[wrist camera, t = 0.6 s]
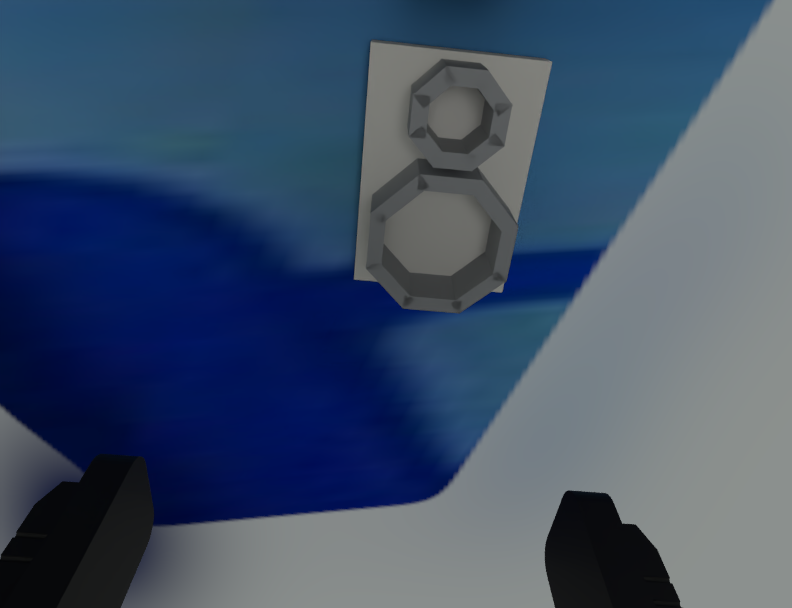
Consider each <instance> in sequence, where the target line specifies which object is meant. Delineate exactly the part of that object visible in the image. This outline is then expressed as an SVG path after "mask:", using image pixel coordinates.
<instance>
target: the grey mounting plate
mask: <svg viewBox="0 0 792 608" xmlns="http://www.w3.org/2000/svg"><path fill="white" fill-rule="evenodd" d="M551 65H552V61H549V60H547V59H545V58H536V57H527V56H518V55H509V54H500V53H490V52H481V51H472V50H463V49H454V48H445V47H436V46H427V45H417V44H408V43H399V42H390V41H381V40H371V46H370V60H369V74H368V88H367V102H366V116H365V131H364V145H363V159H362V173H361V187H360V201H359V215H358V229H357V243H356V257H355V271H354V280H366V281H377V282H379V283H380V284H381V285H382V286H383V287H384V289H385V290H386V291H387V292H388V293H389V294H390V295H391V296H392V297H393V298H394V299H395V300H396V301H397V302H398V303H399V305H400V306H401V307H402V308H403V309H415V310H427V311H438V312H450V313H460V312H462V311H463V310H465V309H466V308H468V307H469V306H471V305H472V304H474V303H475V302H477V301H478V300H480V299H481V298H483V297H484V296H486V295H487V294H488V293H490V292H502V291H503V286H504V283H505V282H506V281H507V276H508V272H509V267H510V263H511V258H512V253H513V249H514V244H515V240H516V235H517V231H518V225H517V222H518V217H519V212H520V208H521V203H522V199H523V194H524V189H525V185H526V180H527V176H528V171H529V166H530V162H531V157H532V153H533V148H534V143H535V139H536V134H537V129H538V125H539V120H540V116H541V111H542V106H543V102H544V97H545V93H546V88H547V83H548V79H549V74H550V70H551Z"/></svg>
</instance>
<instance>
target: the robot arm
mask: <svg viewBox="0 0 792 608" xmlns="http://www.w3.org/2000/svg"><path fill="white" fill-rule="evenodd" d="M153 518H154V510H153V503H152V497H151V492H150V486H149V480H148V474H147V468H146V463H145V460H144V458H143V457H139V456H125V455H112V454H99V455H97V456H96V457H95V458H94V459H93V461H92V462H91V464H90V465H89V467H88V469H87V470H86V472H85V473H84V475H83V477H82V478H81V480H80V482H79V483H78V482H61V483H60V484H59V485H58V486H56V487H55V488H54V489H53V490H52V491H50V492H49V493H48V494H47V495H46V496H44V497H43V498H42V499H41V500H40V501H38V502H37V503H36V504H35V505H34V506H33V508H32V510H31V511H30V513H29V514H28V515H27V517H26V518H25V520H24V521H23V523H22V524H21V526H20V527H19V529H18V530H17V534H16V536H15V538H12V539H11V541H10V542H9V544H8V545H7V547H6V548H5V550H4V551H3V553H2V554H1V559H0V608H121V605H122V603H123V601H124V598H125V596H126V593H127V591H128V589H129V587H130V583H131V582H132V579H133V577H134V575H135V573H136V570H137V568H138V566H139V563H140V561H141V559H142V556H143V554H144V552H145V549H146V547H147V544H148V542H149V539H150V535H151V530H152V526H153ZM545 566H546V572H547V577H548V581H549V585H550V589H551V593H552V597H553V601H554V605H555V608H681V606H680V600H679V598H678V595H677V593H676V591H675V589H674V586H673V584H671V583H670V581H669V578H670V577H669V575H668V573H667V571H666V568H665V566H664V564H663V562H662V560H661V557H660V555H659V553H658V551H657V549H656V548H655V547H654V545H653V544H652V543H651V542H650V541H649V540H648V539H647V537H646V536H645V535H644V534H643V533H642V532H641V530H640V529H639V528H638V527H637V526H636V525H634V524H622V522H621V520H620V517H619V515H618V513H617V510H616V508H615V505H614V503H613V501H612V499H611V497H610V496H609V495H608V494H606V493H596V492H582V491H566V492H565V494H564V496H563V498H562V500H561V503H560V506H559V508H558V511H557V514H556V516H555V519H554V521H553V524H552V527H551V529H550V532H549V534H548V537H547V541H546V546H545Z"/></svg>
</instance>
